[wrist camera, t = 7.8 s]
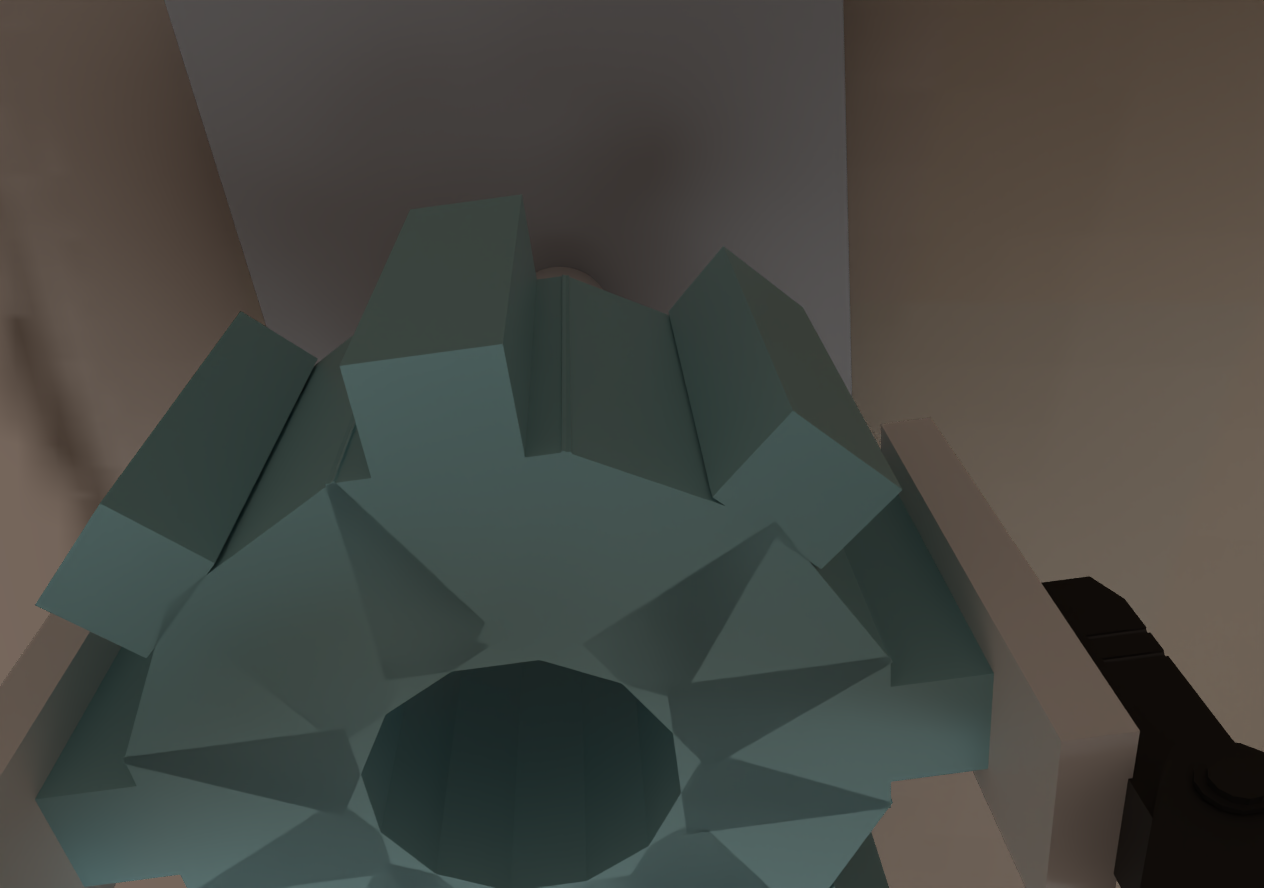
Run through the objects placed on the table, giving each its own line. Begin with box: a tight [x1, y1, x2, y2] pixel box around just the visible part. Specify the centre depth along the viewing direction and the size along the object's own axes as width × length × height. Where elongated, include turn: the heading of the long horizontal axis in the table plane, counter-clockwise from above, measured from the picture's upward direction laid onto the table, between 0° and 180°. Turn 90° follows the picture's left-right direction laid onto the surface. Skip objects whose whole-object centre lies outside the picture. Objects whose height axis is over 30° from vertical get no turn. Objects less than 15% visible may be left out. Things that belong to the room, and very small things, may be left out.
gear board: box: [164, 0, 852, 396], centre depth 26 cm, size 28×14×6 cm, turn 7°
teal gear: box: [35, 194, 994, 888], centre depth 14 cm, size 11×11×5 cm
